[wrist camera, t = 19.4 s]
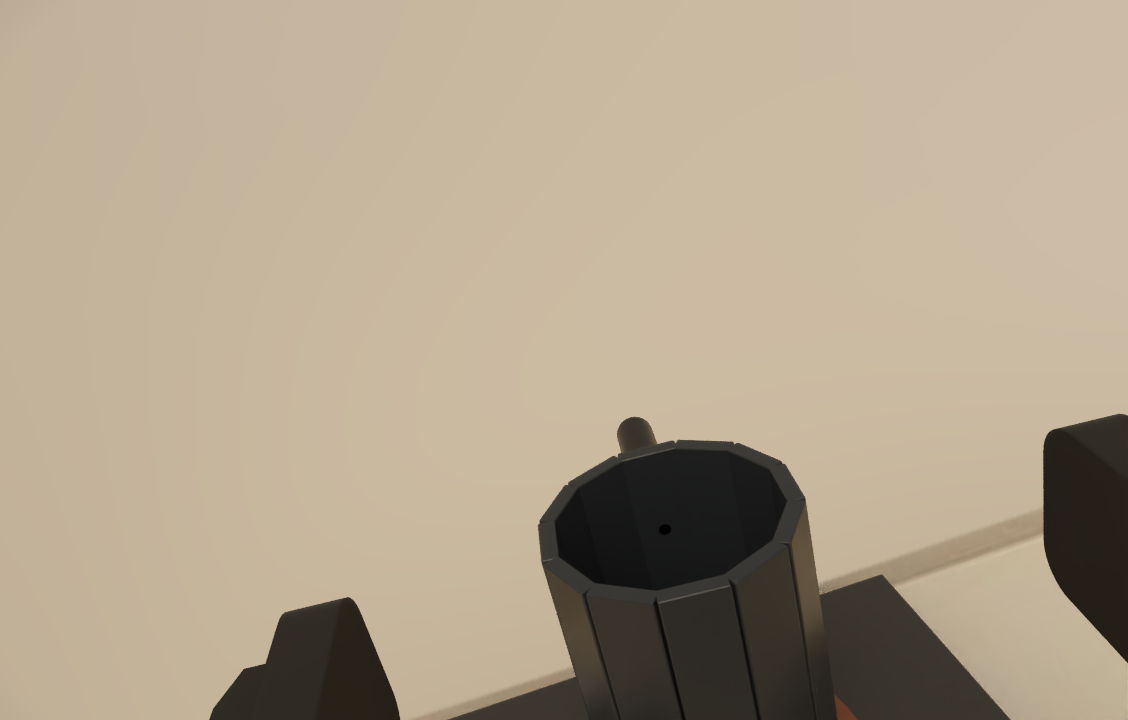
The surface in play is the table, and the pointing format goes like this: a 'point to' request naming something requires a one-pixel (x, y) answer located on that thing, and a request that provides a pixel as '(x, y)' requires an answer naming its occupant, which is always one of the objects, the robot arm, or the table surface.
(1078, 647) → the table surface
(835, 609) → the stove
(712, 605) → the pot
